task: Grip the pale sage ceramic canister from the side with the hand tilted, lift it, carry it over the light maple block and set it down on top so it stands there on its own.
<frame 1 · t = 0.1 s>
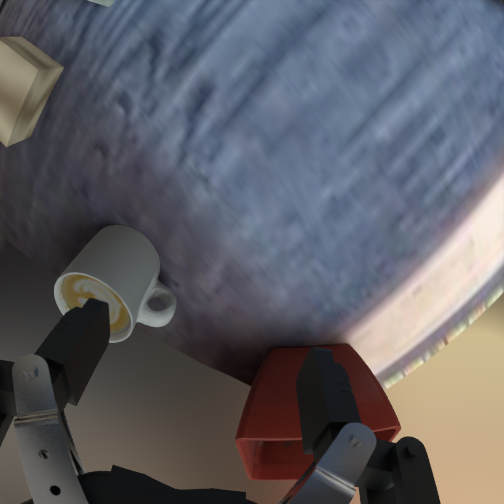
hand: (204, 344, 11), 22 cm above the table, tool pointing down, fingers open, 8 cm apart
plant pot: (307, 368, 47), on the table
maple block: (25, 85, 24), on the table
coffee mug: (136, 265, 37), on the table
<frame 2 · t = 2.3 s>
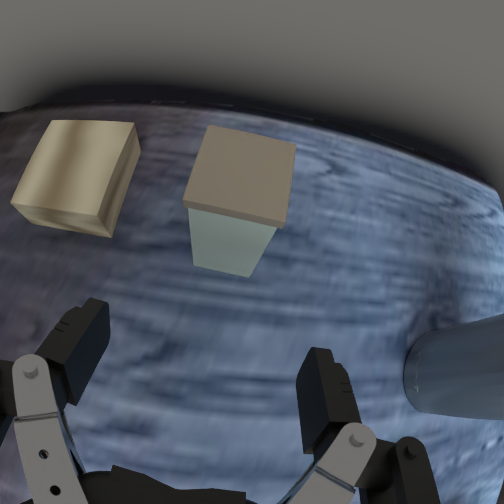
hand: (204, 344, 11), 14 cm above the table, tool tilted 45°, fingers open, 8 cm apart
sage canister: (227, 245, 28), on the table
maple block: (85, 187, 28), on the table
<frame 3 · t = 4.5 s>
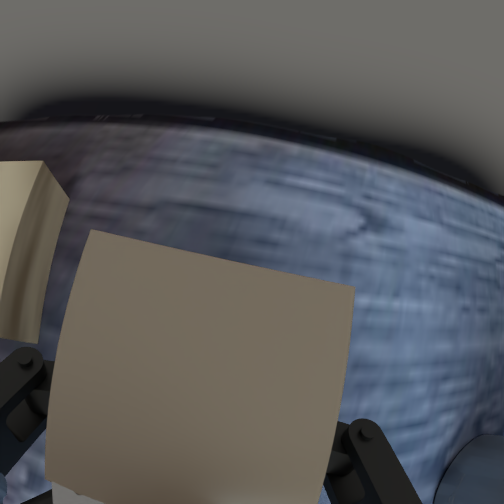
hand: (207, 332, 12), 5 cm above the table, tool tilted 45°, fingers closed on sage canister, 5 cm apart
sage canister: (200, 370, 16), on the table, touching gripper
maple block: (1, 259, 16), on the table
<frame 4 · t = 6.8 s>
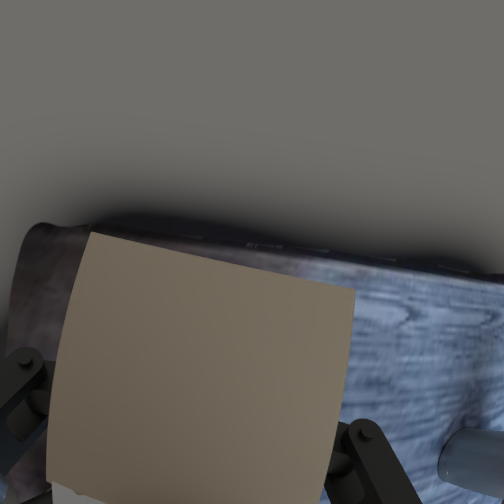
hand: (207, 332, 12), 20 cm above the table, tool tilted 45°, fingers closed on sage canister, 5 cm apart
sage canister: (201, 371, 16), point 15 cm above the table, touching gripper
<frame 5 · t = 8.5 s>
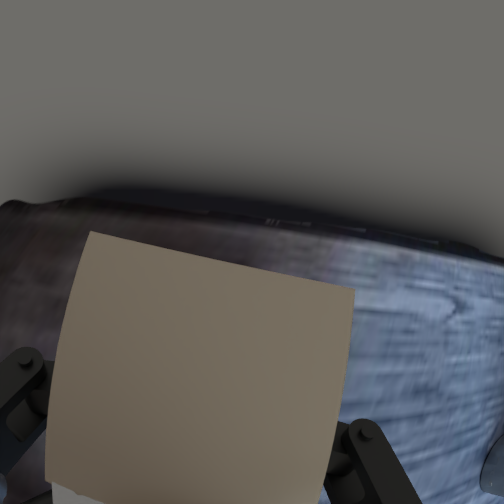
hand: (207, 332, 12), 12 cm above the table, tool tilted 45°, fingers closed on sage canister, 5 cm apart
sage canister: (200, 370, 16), point 7 cm above the table, touching gripper
when the fingers open (11 cm above the table, at t = 9.1 s): sage canister drops 1 cm, resting on maple block.
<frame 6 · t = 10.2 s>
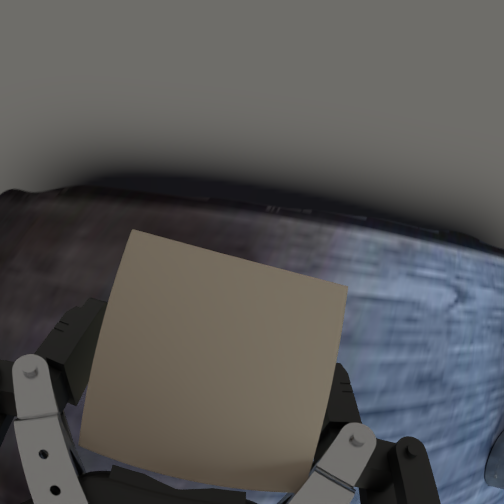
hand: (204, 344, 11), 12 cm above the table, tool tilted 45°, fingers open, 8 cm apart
sage canister: (203, 356, 17), point 5 cm above the table, touching maple block
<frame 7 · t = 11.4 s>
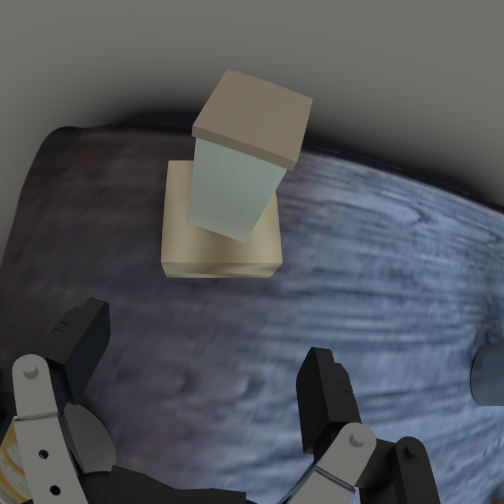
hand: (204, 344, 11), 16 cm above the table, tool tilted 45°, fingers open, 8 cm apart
sage canister: (225, 208, 26), point 5 cm above the table, touching maple block
maple block: (217, 230, 31), on the table, touching sage canister
coffee mug: (71, 460, 20), on the table
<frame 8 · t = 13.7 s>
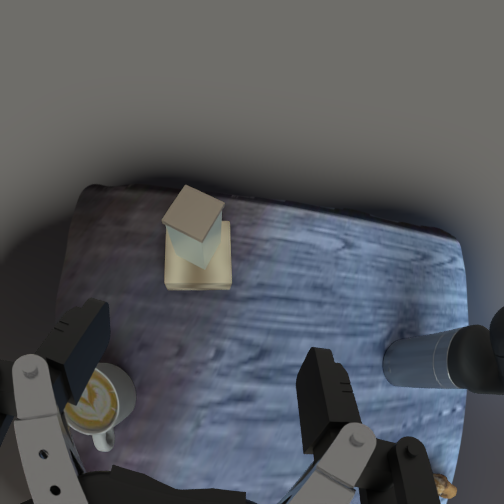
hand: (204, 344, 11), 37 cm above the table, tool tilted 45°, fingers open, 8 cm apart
sage canister: (198, 248, 46), point 5 cm above the table, touching maple block
maple block: (198, 261, 50), on the table, touching sage canister
lion figurine: (427, 483, 41), on the table
coffee mug: (107, 402, 40), on the table
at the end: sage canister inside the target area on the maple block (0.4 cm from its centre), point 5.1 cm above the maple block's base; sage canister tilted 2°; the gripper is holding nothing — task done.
